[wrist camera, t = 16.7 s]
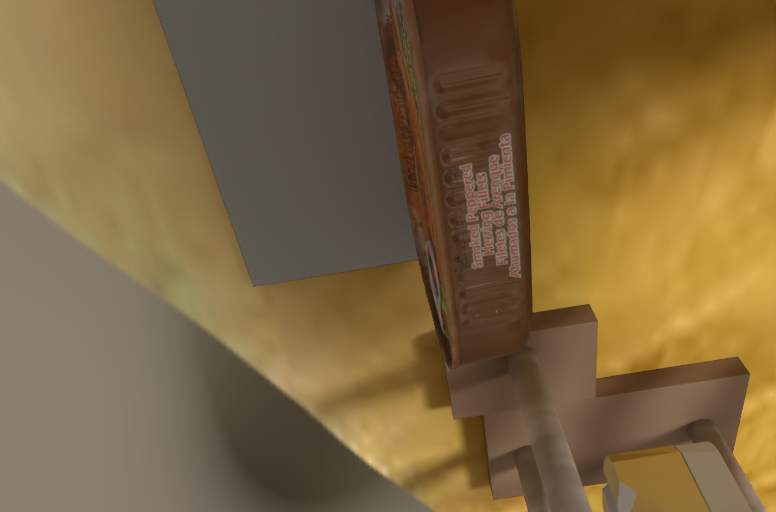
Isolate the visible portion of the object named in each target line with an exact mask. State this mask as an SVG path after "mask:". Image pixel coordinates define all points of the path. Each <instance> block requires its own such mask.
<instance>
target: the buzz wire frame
mask: <svg viewBox="0 0 776 512" xmlns="http://www.w3.org/2000/svg"><path fill="white" fill-rule="evenodd" d="M597 330H598V321H597V318H596V316H595V314H594V312H593V310H592V308H591V306H590V304H587V305H581V306H575V307H569V308H562V309H556V310H550V311H544V312H538V313H532V324H531V332H530V336H529V340H528V342H527V344H526V346H525V347H524V348H523V349H522V350H520V351H519V352H517V353H514V354H511V355H508V356H504V357H499V358H495V359H490V360H486V361H481V362H476V363H472V364H467V365H462V366H459V367H458V368H457V369H456V370H453V371H452V370H450V369H449V368H448V366H447V364H446V362H445V358H444V363H445V370H446V376H447V383H448V389H449V396H450V402H451V408H452V413H453V418H454V420H455V419H462V418H468V417H475V416H481V415H482V422H483V430H484V439H485V448H486V456H487V465H488V474H489V482H490V486H491V491H492V496H493V500H495V499H502V498H509V497H516V496H522V495H524V498H525V501H526V505H527V509H528V512H592V510H591V508H590V505H589V502H588V499H587V496H586V493H585V491H584V488H583V486H589V485H596V484H603V483H608V482H607V479H606V476H605V474H604V471H603V468H604V459H605V457H606V455H612V454H619V453H625V452H632V451H639V450H645V449H652V448H658V447H665V446H680V445H686V444H692V443H699V442H705V441H706V442H711V443H712V444H713V445H714V446H715V447H716V448H717V449H718V451H719V453H720V455H721V456H722V458H723V460H724V462H725V463H726V465H727V467H728V469H729V470H730V472H731V474H732V476H733V478H734V479H735V481H736V483H737V485H738V486H739V488H740V490H741V492H742V493H743V495H744V497H745V499H746V501H747V502H748V504H749V506H750V508H751V509H752V511H753V512H767V510H766V509H765V507H764V505H763V504H762V502H761V500H760V499H759V497H758V495H757V494H756V492H755V490H754V489H753V487H752V485H751V484H750V482H749V480H748V479H747V477H746V475H745V474H744V472H743V470H742V469H741V467H740V465H739V464H738V462H737V460H736V459H735V457H734V455H733V450H734V445H735V441H736V436H737V432H738V427H739V422H740V418H741V413H742V409H743V404H744V400H745V395H746V391H747V386H748V381H749V377H750V373H749V372H748V370H747V369H746V367H745V366H744V365H743V363H742V362H741V360H740V359H739V358H738V357H733V358H726V359H720V360H714V361H707V362H701V363H694V364H688V365H681V366H675V367H669V368H662V369H656V370H649V371H643V372H637V373H630V374H624V375H617V376H611V377H604V378H598V379H596V362H597ZM443 356H444V355H443Z"/></svg>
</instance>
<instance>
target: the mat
mask: <svg viewBox="0 0 776 512" xmlns="http://www.w3.org/2000/svg"><path fill="white" fill-rule="evenodd" d="M153 2H154V5H155V7H156V10H157V13H158V16H159V19H160V22H161V24H162V27H163V30H164V33H165V36H166V39H167V42H168V44H169V47H170V50H171V53H172V56H173V59H174V62H175V64H176V67H177V70H178V73H179V76H180V79H181V81H182V84H183V87H184V90H185V93H186V96H187V99H188V101H189V104H190V107H191V110H192V113H193V116H194V118H195V121H196V124H197V127H198V130H199V133H200V136H201V138H202V141H203V144H204V147H205V150H206V153H207V156H208V158H209V161H210V164H211V167H212V170H213V173H214V175H215V178H216V181H217V184H218V187H219V190H220V193H221V195H222V198H223V201H224V204H225V207H226V210H227V213H228V215H229V218H230V221H231V224H232V227H233V230H234V232H235V235H236V238H237V241H238V244H239V247H240V250H241V252H242V255H243V258H244V261H245V264H246V267H247V269H248V272H249V275H250V278H251V281H252V284H253V287H255V286H262V285H268V284H274V283H280V282H286V281H292V280H298V279H304V278H310V277H316V276H322V275H328V274H334V273H340V272H346V271H352V270H359V269H365V268H371V267H377V266H383V265H389V264H395V263H401V262H407V261H413V260H418V256H417V251H416V247H415V242H414V237H413V232H412V226H411V219H410V216H409V210H408V206H407V200H406V194H405V188H404V182H403V176H402V170H401V164H400V158H399V151H398V145H397V139H396V132H395V127H394V120H393V113H392V108H391V102H390V95H389V89H388V83H387V77H386V71H385V64H384V59H383V53H382V46H381V38H380V34H379V28H378V21H377V16H376V9H375V1H374V0H153Z"/></svg>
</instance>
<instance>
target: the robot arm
mask: <svg viewBox="0 0 776 512" xmlns="http://www.w3.org/2000/svg"><path fill="white" fill-rule="evenodd" d="M603 471H604V474H605V476H606V479H607V482H608V484H607V485H606V486H605V487H604V488H603V489H602V503H603V510H604V512H753V511H752V509H751V508H750V506H749V504H748V502H747V501H746V499H745V497H744V495H743V493H742V492H741V490H740V488H739V486H738V485H737V483H736V481H735V479H734V478H733V476H732V474H731V472H730V470H729V469H728V467H727V465H726V463H725V462H724V460H723V458H722V456H721V455H720V453H719V451H718V449H717V448H716V447H715V446H714V445H713V444H712V443H711V442H706V441H705V442H699V443H692V444H686V445H680V446H665V447H658V448H652V449H645V450H639V451H632V452H625V453H619V454H612V455H606V457H605V459H604V468H603Z"/></svg>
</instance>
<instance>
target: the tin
mask: <svg viewBox="0 0 776 512" xmlns="http://www.w3.org/2000/svg"><path fill="white" fill-rule="evenodd" d="M374 1H375V9H376V16H377V21H378V28H379V34H380V38H381V46H382V53H383V59H384V64H385V71H386V77H387V83H388V89H389V95H390V102H391V108H392V113H393V120H394V127H395V132H396V139H397V145H398V151H399V158H400V164H401V170H402V176H403V182H404V188H405V194H406V200H407V206H408V210H409V216H410V219H411V226H412V232H413V237H414V242H415V247H416V251H417V256H418V260H419V265H420V268H421V273H422V278H423V282H424V285H425V290H426V294H427V298H428V302H429V305H430V309H431V312H432V317H433V321H434V325H435V329H436V333H437V336H438V339H439V343H440V347H441V349H442V353H443V355H444V358H445V362H446V364H447V366H448V368H449V369H450V370H452V371H453V370H456V369H457V368H458V367H459V366H462V365H467V364H472V363H476V362H481V361H486V360H490V359H495V358H499V357H504V356H508V355H511V354H514V353H517V352H519V351H520V350H522V349H523V348H524V347H525V346H526V344H527V342H528V340H529V336H530V332H531V324H532V274H531V243H530V219H529V197H528V172H527V152H526V137H525V117H524V97H523V79H522V62H521V52H520V42H519V33H518V25H517V18H516V11H515V5H514V0H374Z"/></svg>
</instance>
